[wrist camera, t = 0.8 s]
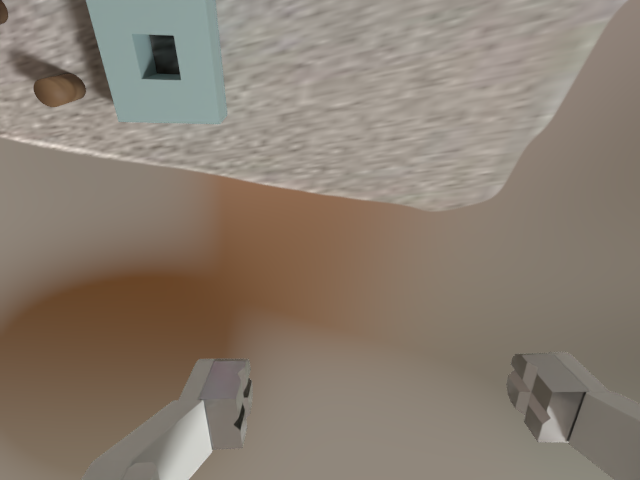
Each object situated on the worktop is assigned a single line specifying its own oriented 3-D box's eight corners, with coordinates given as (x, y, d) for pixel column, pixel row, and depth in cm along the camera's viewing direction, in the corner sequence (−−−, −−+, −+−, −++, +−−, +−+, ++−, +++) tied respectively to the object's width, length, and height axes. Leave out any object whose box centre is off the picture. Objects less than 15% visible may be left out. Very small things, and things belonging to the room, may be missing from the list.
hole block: (103, -20, 38) (79, -25, 34) (213, -14, 39) (203, -19, 34) (135, 112, 45) (118, 121, 41) (227, 114, 46) (220, 124, 42)
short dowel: (56, 73, 42) (29, 78, 38) (81, 73, 43) (57, 79, 38) (64, 98, 44) (40, 106, 40) (88, 99, 44) (66, 107, 40)
